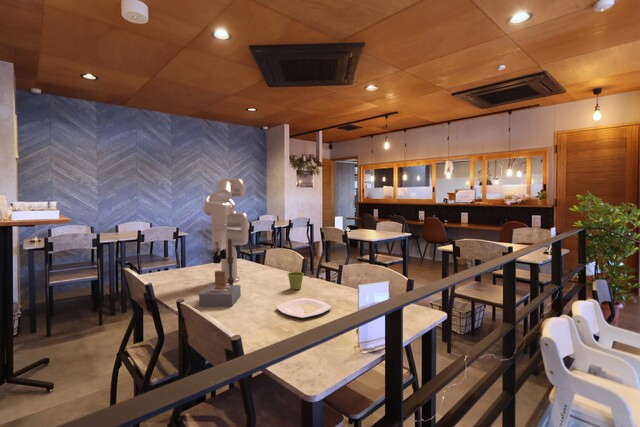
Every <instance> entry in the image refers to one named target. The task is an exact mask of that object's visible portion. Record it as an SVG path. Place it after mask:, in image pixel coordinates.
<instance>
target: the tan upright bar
mask: <svg viewBox="0 0 640 427" xmlns="http://www.w3.org/2000/svg"><path fill="white" fill-rule="evenodd" d="M214 285H215V289H227V288H226V285H227V283H226V271H221V270H215V271H214Z"/></svg>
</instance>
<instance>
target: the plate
mask: <svg viewBox="0 0 640 427" xmlns="http://www.w3.org/2000/svg"><path fill="white" fill-rule="evenodd" d="M301 304H311V305H315V306H317V307H319V308H320V309H318V310H317V311H315V312H313V313H308V314H304V310H303V309H302V308H301V306H300V308H299V306H298V305H301ZM295 306H297V308H296V307H295ZM293 307H294V308H293ZM275 308H276V310H278V311H279V312H281V313H282V314H283V315H287V316H290V317H295V318H298V319H305V318H311V317H314V316H315V317H316V316H318V315H321V314H323V313H326V312H327V311H329V310H331V309H332V308H333V307H332V306H331V305H330V304H328V303H327V302H325V301H322V300H319V299H315V298H310V297H309V298H307V297H301V298H295V299H292V300H287V301H285V302H283V303H281V304H279V305H277V306H275Z"/></svg>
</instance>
